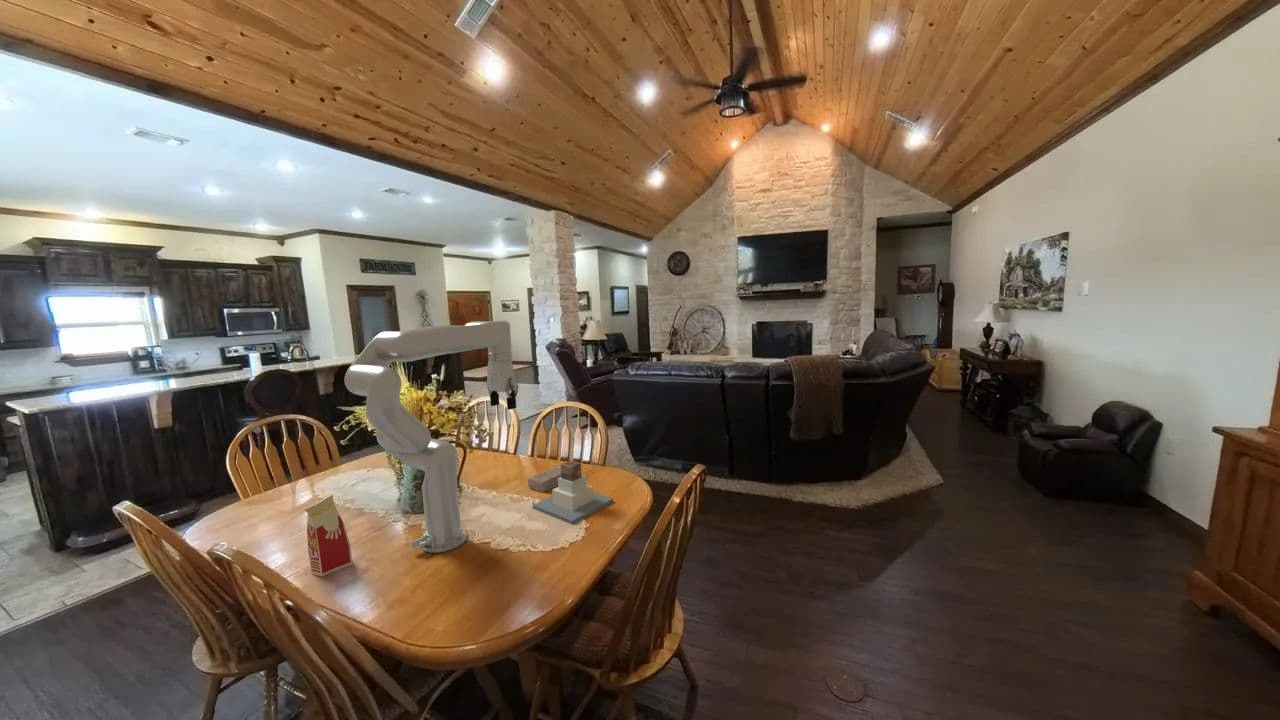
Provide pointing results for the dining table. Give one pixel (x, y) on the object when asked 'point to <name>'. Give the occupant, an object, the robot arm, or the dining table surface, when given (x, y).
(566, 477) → the walnut cube
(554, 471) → the brick
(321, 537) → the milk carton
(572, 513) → the foundation
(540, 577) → the dining table surface
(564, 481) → the green block
